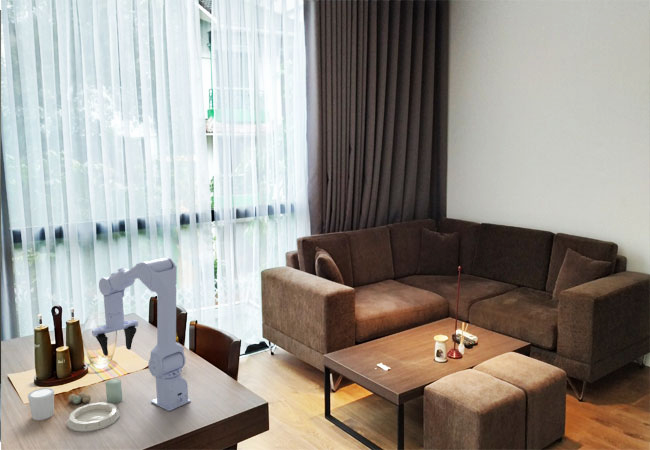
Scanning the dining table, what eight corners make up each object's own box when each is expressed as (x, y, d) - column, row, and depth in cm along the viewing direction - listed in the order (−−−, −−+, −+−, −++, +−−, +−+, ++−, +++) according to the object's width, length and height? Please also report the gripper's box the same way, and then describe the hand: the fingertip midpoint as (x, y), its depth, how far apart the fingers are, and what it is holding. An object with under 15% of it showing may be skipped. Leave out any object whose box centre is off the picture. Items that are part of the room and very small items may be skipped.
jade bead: (125, 399, 172) (123, 381, 171) (111, 405, 168) (110, 386, 168) (117, 395, 175) (116, 377, 174) (104, 401, 171) (102, 382, 170)
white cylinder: (49, 407, 168) (47, 385, 166) (60, 414, 163) (58, 391, 162) (25, 416, 162) (23, 393, 161) (36, 423, 158) (34, 400, 157)
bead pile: (92, 401, 171) (91, 394, 170) (76, 408, 167) (76, 400, 167) (82, 396, 174) (81, 389, 174) (66, 402, 171) (66, 394, 170)
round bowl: (129, 417, 161) (128, 410, 161) (82, 437, 150) (82, 430, 150) (103, 403, 170) (103, 396, 170) (58, 421, 159) (57, 414, 159)
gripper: (130, 305, 190) (133, 343, 192) (87, 314, 180) (90, 354, 183) (139, 309, 185) (142, 348, 187) (95, 319, 175) (98, 360, 177)
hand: (117, 351), depth 184 cm, fingers open, 7 cm apart
